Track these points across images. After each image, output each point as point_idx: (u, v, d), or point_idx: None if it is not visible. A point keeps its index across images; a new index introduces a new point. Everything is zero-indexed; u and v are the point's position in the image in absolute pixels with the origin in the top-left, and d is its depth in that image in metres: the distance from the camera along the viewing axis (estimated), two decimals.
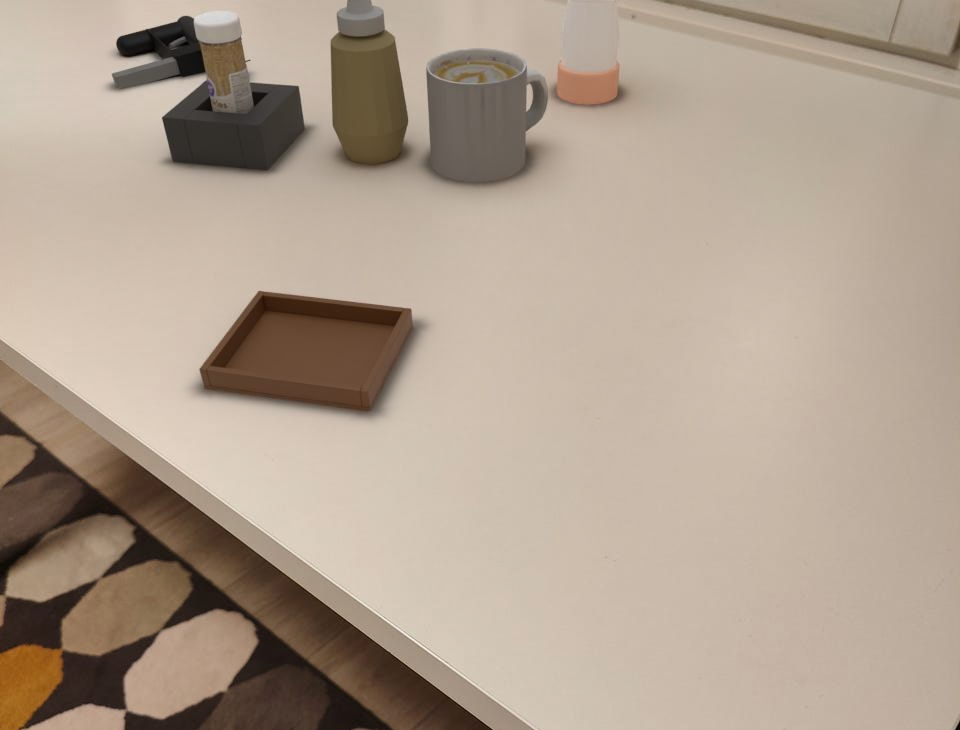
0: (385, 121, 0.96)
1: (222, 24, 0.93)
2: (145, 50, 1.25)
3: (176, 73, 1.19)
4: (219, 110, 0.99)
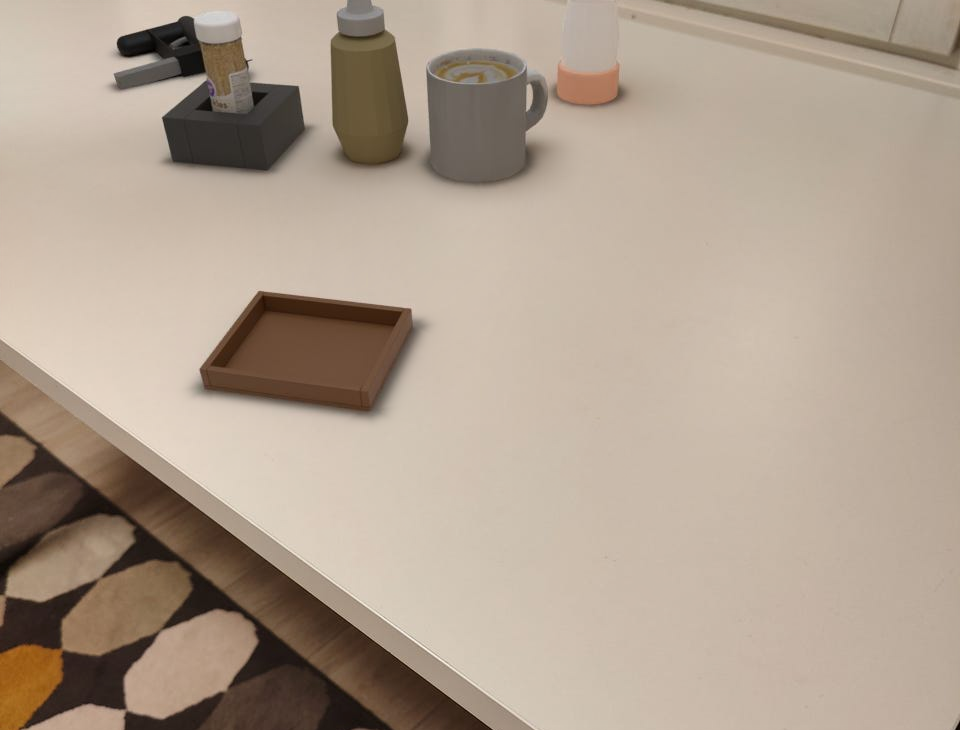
0: (385, 120, 0.96)
1: (222, 23, 0.93)
2: (146, 50, 1.25)
3: (178, 73, 1.19)
4: (219, 110, 0.99)
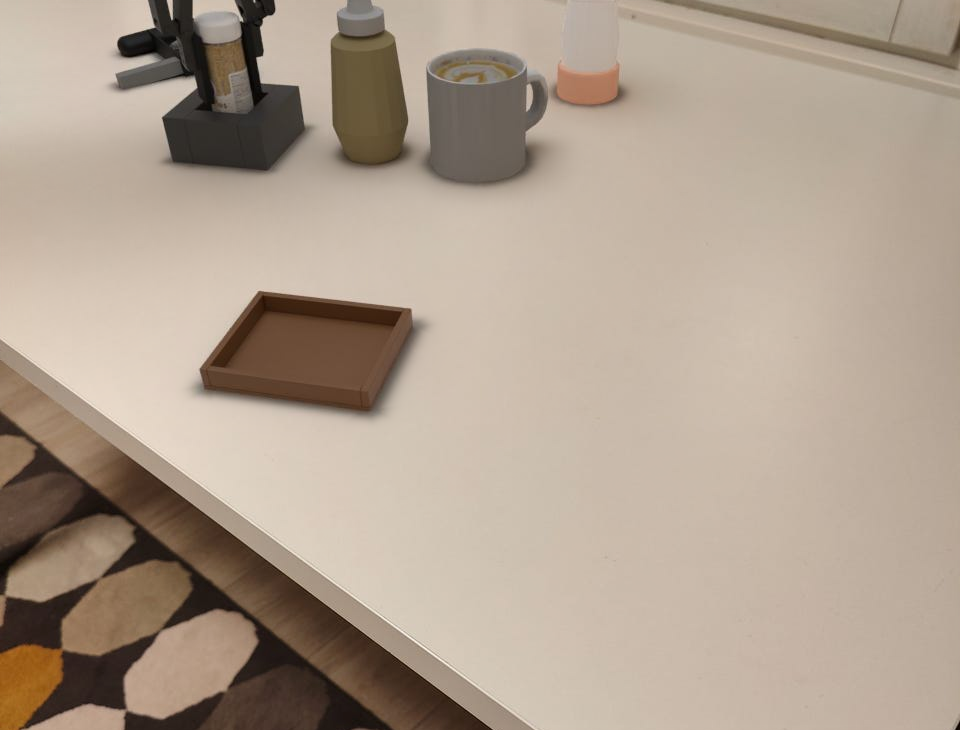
0: (385, 120, 0.96)
1: (222, 23, 0.93)
2: (146, 50, 1.25)
3: (179, 73, 1.19)
4: (219, 110, 0.99)
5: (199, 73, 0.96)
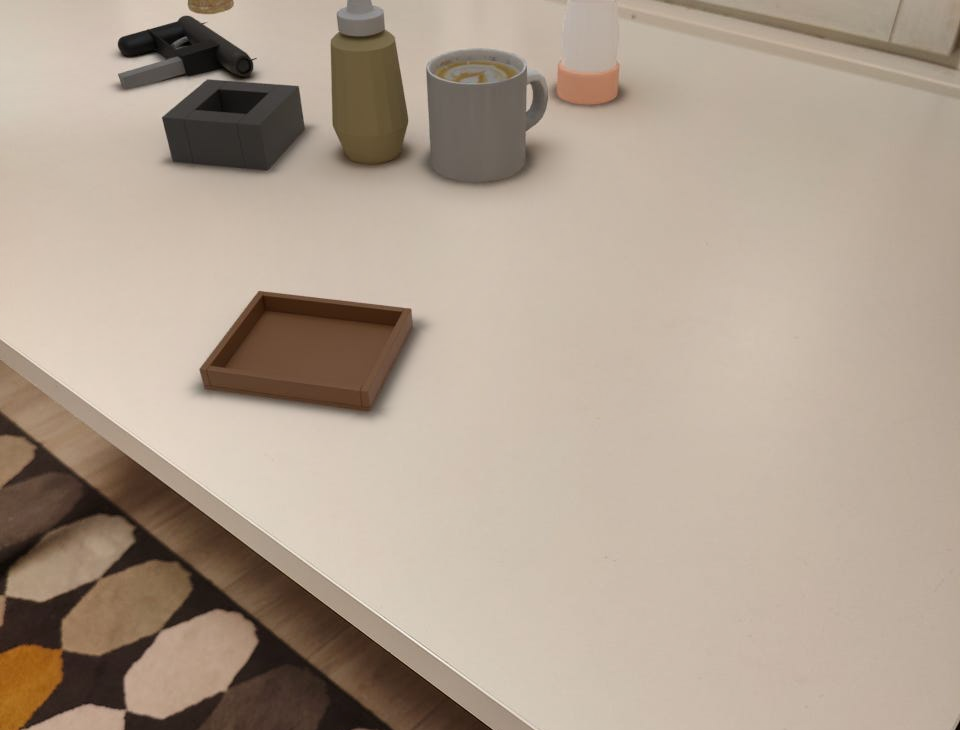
0: (385, 120, 0.96)
1: None
2: (147, 50, 1.25)
3: (182, 72, 1.19)
4: None
5: None
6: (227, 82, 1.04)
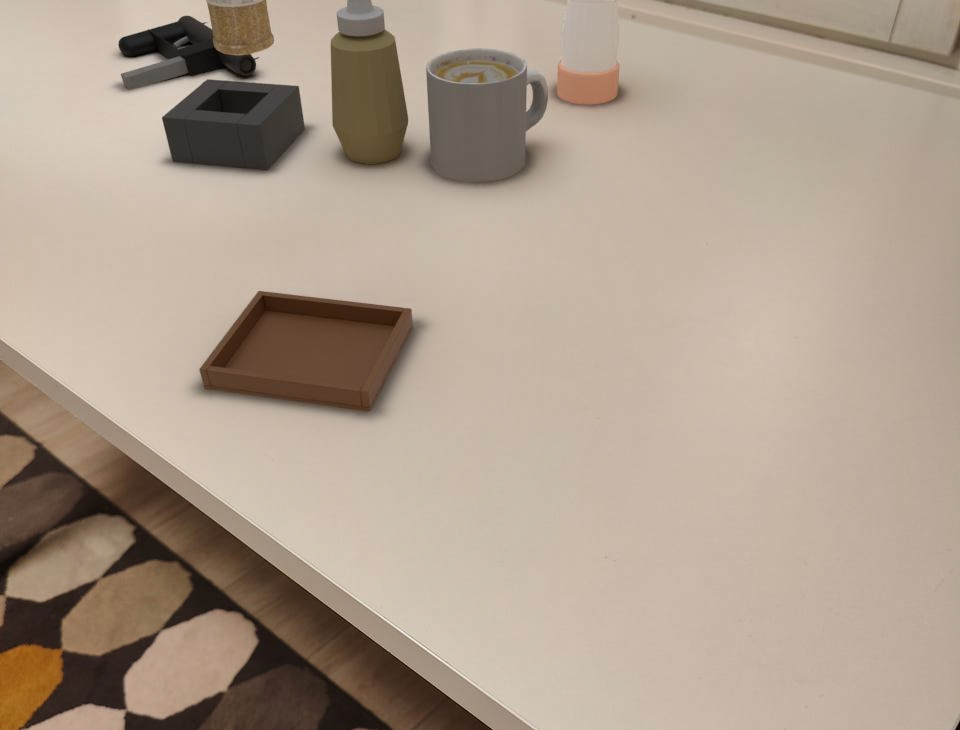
0: (385, 120, 0.96)
1: None
2: (148, 50, 1.25)
3: (184, 72, 1.19)
4: None
5: None
6: (227, 82, 1.04)
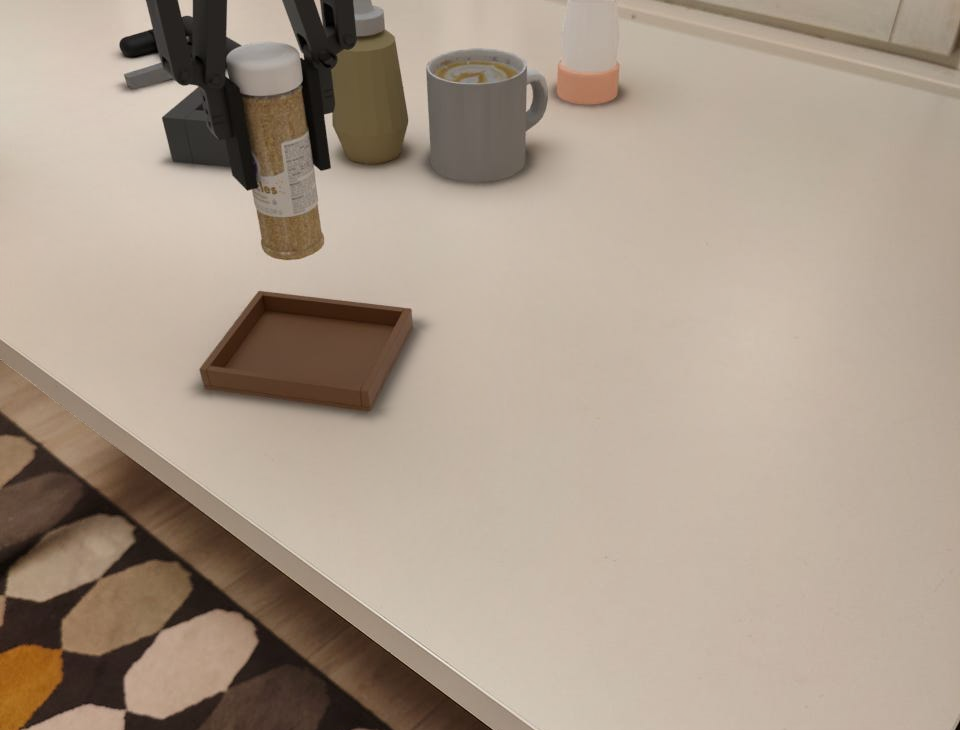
0: (385, 120, 0.96)
1: (273, 64, 0.57)
2: (149, 51, 1.25)
3: None
4: (264, 197, 0.63)
5: (234, 142, 0.60)
6: None
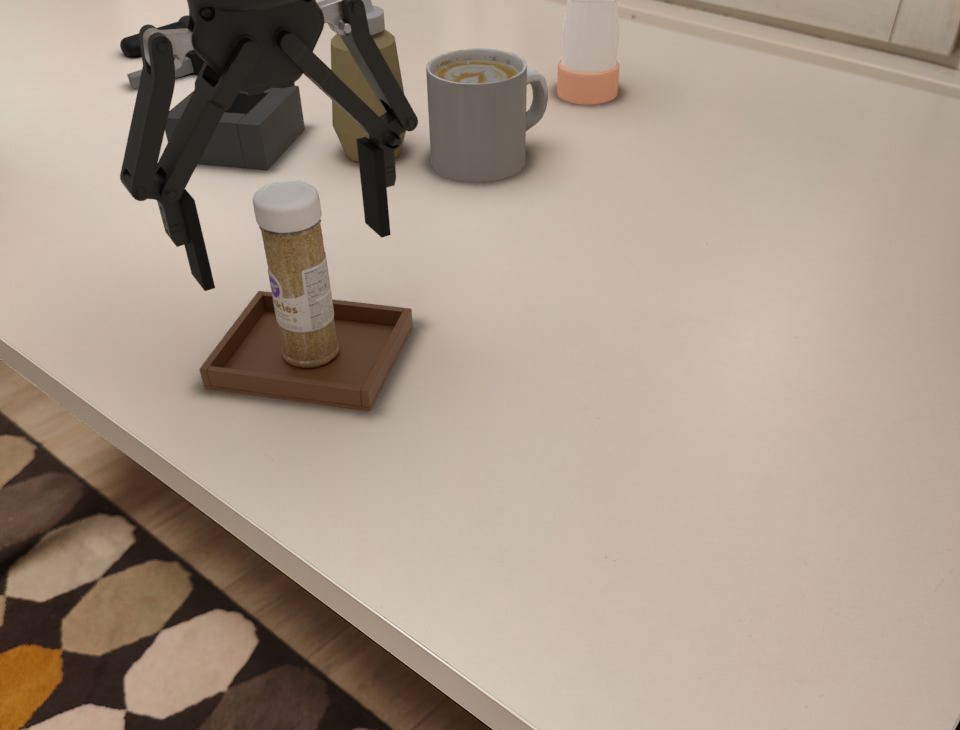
0: None
1: (295, 207, 0.64)
2: None
3: (190, 71, 1.19)
4: (285, 315, 0.69)
5: (191, 247, 0.63)
6: None
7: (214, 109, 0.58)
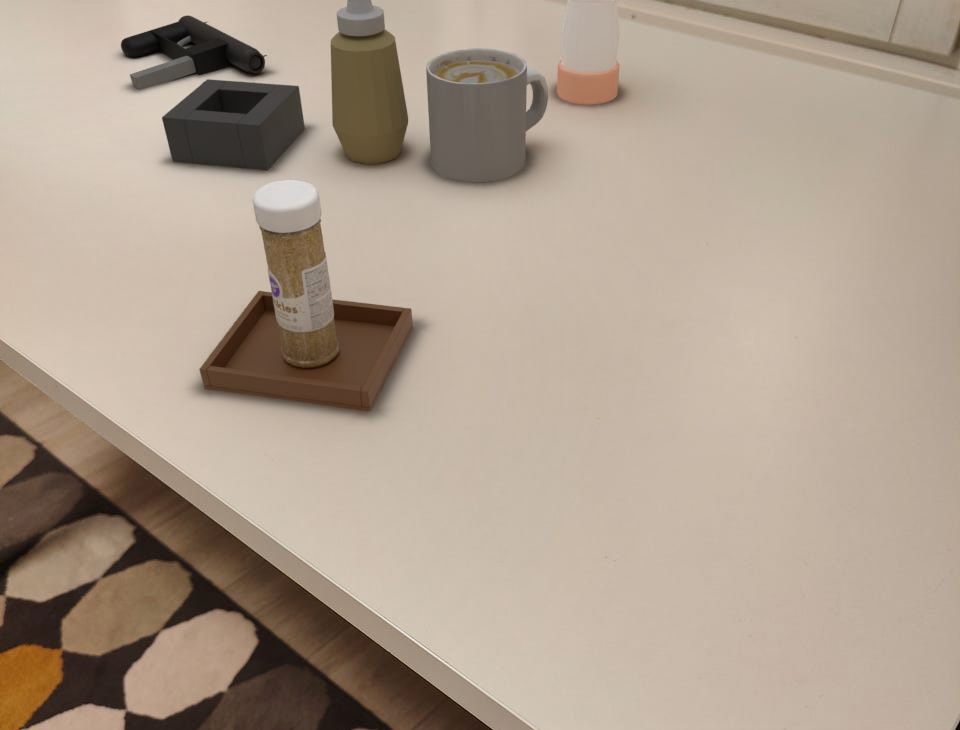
0: (385, 120, 0.96)
1: (295, 206, 0.64)
2: (151, 51, 1.25)
3: (192, 71, 1.19)
4: (285, 315, 0.69)
5: None
6: (227, 82, 1.04)
7: None
